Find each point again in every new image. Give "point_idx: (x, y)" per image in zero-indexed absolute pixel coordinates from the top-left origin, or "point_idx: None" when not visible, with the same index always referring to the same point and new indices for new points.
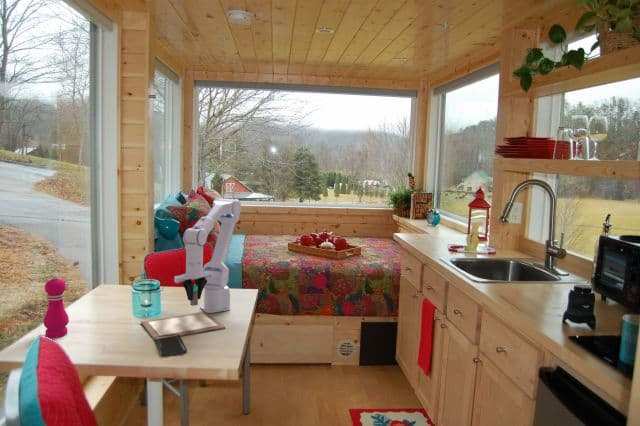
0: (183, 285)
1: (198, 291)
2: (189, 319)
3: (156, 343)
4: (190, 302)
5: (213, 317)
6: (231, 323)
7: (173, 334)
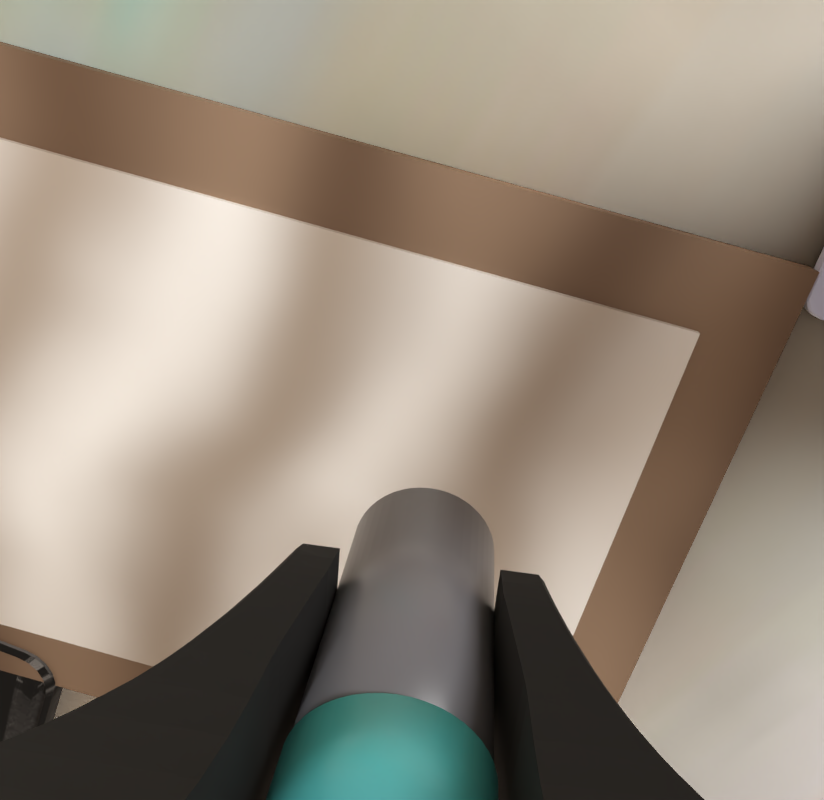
0: (36, 744)
1: (498, 788)
2: (385, 404)
3: None
4: (349, 551)
5: (694, 535)
6: (726, 755)
7: (8, 646)
